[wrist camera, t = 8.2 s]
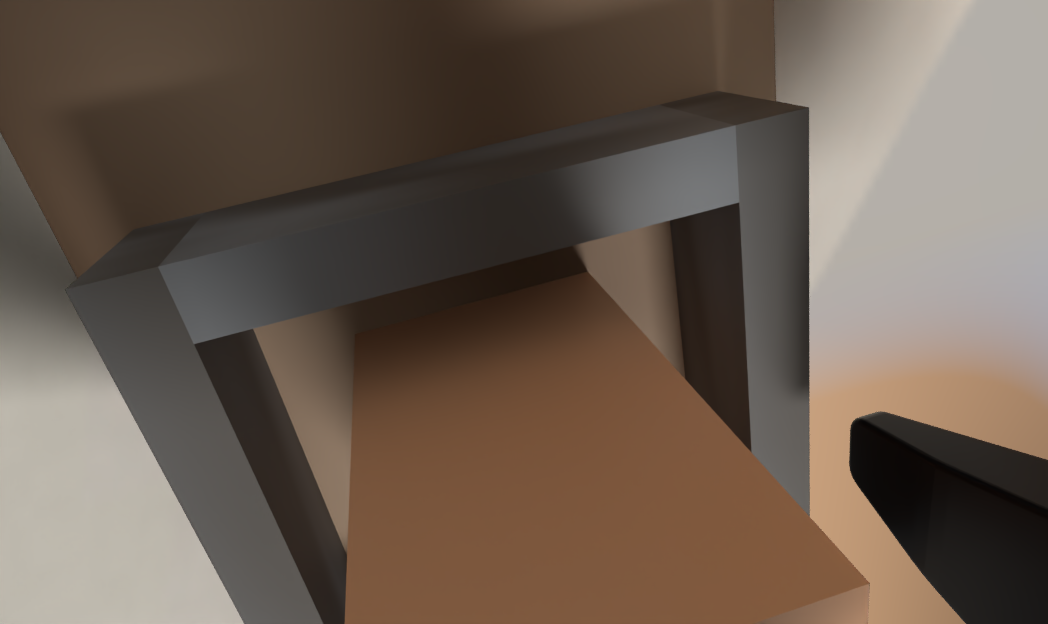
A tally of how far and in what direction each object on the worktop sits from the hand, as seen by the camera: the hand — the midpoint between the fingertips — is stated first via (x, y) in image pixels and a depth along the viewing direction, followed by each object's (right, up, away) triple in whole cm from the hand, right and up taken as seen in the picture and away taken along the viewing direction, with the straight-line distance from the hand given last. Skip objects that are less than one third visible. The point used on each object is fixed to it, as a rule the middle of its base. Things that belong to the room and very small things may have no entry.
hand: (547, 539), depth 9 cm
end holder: (-1, +2, +4) cm, 4 cm away
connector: (-1, +1, +3) cm, 4 cm away
